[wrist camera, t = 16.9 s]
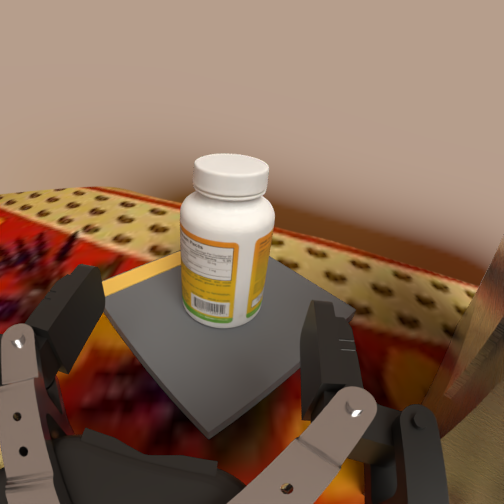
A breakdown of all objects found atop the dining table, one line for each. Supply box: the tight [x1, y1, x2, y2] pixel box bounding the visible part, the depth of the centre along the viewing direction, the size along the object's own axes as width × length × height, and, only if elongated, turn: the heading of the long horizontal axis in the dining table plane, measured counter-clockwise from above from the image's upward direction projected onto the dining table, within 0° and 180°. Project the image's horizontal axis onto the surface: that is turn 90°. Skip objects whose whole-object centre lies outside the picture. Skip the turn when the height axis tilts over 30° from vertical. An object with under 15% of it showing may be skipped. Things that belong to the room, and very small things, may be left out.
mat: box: [102, 250, 356, 439], centre depth 22 cm, size 14×14×1 cm
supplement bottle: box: [180, 154, 275, 328], centre depth 19 cm, size 5×5×10 cm
